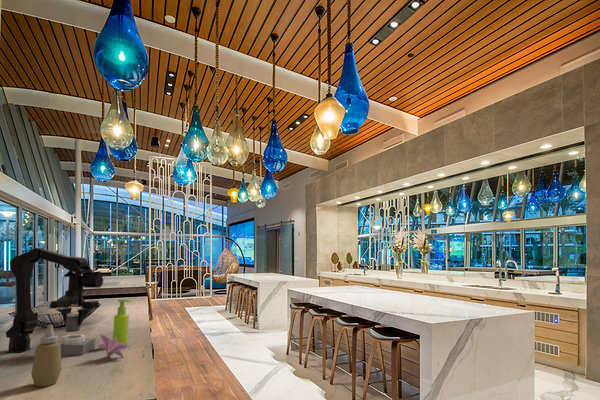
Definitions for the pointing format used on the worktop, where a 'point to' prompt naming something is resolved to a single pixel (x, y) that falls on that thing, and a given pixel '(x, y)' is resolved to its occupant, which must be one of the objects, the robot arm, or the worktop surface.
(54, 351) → the squeeze bottle
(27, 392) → the worktop surface
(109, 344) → the lily
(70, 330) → the grey block
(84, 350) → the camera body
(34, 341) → the worktop surface
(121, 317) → the soap dispenser
